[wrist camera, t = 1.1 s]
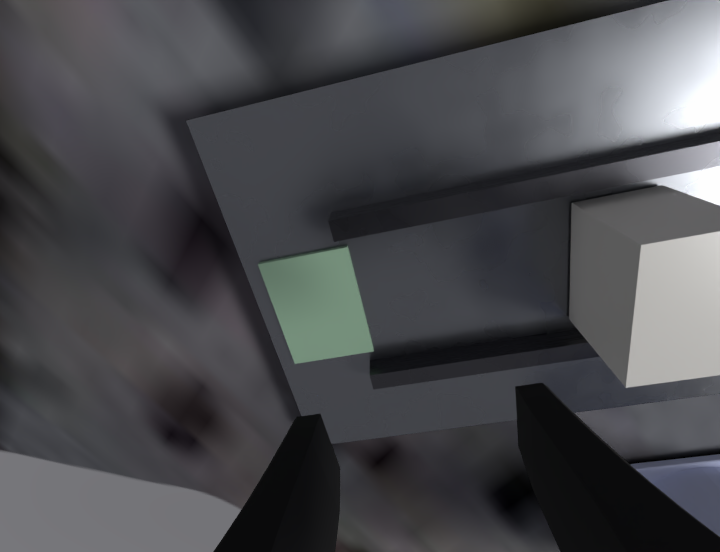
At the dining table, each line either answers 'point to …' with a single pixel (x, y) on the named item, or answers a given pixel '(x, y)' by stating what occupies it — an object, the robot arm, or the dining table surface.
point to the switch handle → (648, 283)
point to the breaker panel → (460, 215)
